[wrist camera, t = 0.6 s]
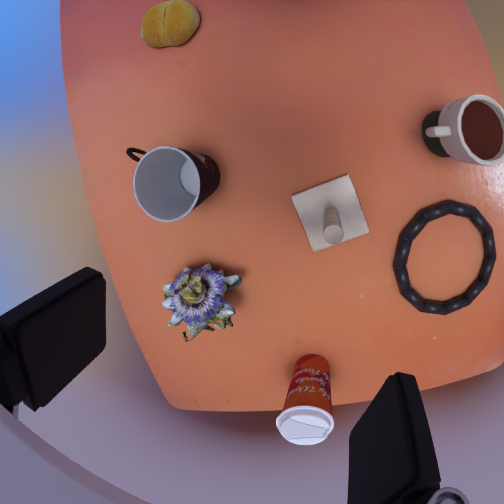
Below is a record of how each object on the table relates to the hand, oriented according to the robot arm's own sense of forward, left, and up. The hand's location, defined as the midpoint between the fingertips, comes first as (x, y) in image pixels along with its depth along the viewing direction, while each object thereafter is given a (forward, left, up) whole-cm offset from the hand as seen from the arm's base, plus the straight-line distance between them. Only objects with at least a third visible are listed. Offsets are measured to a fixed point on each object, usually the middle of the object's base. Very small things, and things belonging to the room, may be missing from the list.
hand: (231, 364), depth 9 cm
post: (+3, +3, -34) cm, 34 cm away
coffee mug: (-10, -12, -34) cm, 37 cm away
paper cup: (+26, -8, -34) cm, 44 cm away
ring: (+15, +17, -33) cm, 40 cm away
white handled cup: (-2, +21, -34) cm, 40 cm away
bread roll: (-32, -6, -34) cm, 47 cm away
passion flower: (+8, -18, -34) cm, 39 cm away
